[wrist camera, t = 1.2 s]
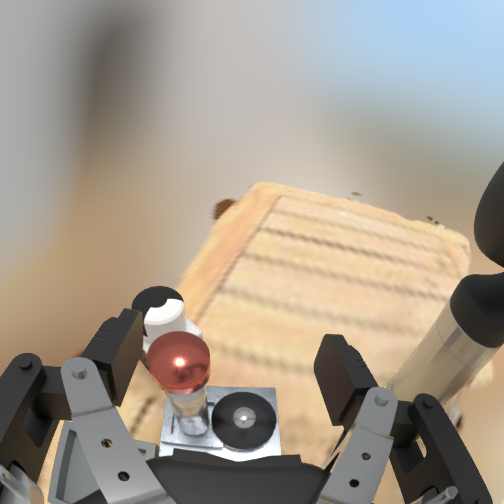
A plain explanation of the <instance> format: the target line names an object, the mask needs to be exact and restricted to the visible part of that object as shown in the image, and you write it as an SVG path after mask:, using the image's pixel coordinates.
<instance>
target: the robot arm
mask: <svg viewBox="0 0 504 504" xmlns="http://www.w3.org/2000/svg"><path fill="white" fill-rule="evenodd" d="M474 236H475V240H476V243H477V245H478V247H479V249H480V250H481V251H482V252H483V253H484V254H485V255H486V256H487V257H488V258H489V259H490V260H492V261H494V262H495V263H497V264H498V265H500V266H502V267H503V268H504V162H503V163H502V165H501V166H500V167H499V169H498V170H497V172H496V173H495V175H494V176H493V178H492V179H491V181H490V182H489V184H488V186H487V188H486V190H485V192H484V194H483V196H482V198H481V200H480V203H479V206H478V208H477V212H476V215H475V221H474ZM503 344H504V272H502V273H499V274H493V275H479V274H473V275H468V276H466V277H464V278H463V279H462V280H461V281H460V283H459V284H458V286H457V287H456V289H455V291H454V292H453V294H452V296H451V298H450V299H449V301H448V302H447V304H446V306H445V307H444V309H443V310H442V312H441V314H440V315H439V317H438V318H437V320H436V321H435V323H434V324H433V326H432V327H431V329H430V330H429V332H428V333H427V335H426V336H425V337H424V339H423V340H422V342H421V343H420V344H419V346H418V347H417V348H416V350H415V351H414V352H413V354H412V355H411V356H410V357H409V359H408V360H407V361H406V362H405V364H404V365H403V366H402V367H401V369H400V370H399V371H398V372H397V373H396V375H395V376H394V377H393V378H392V379H391V381H390V382H389V384H388V387H387V389H386V388H383V387H379V386H378V384H377V382H376V381H375V379H374V377H373V375H372V374H371V372H370V370H369V369H368V367H367V365H366V363H365V362H364V361H363V358H362V357H361V355H360V353H359V352H358V351H357V350H356V349H355V348H354V347H352V346H351V345H348V344H347V342H346V340H345V338H344V337H343V335H339V334H325V336H324V337H323V340H322V342H321V345H320V348H319V350H318V353H317V356H316V358H315V362H314V373H315V376H316V379H317V382H318V385H319V387H320V390H321V393H322V396H323V399H324V402H325V405H326V408H327V411H328V413H329V416H330V419H331V422H332V425H333V426H340V425H343V427H344V430H343V431H342V433H341V434H340V436H339V438H338V440H337V442H336V444H335V446H334V448H333V449H332V451H331V453H330V455H329V457H328V458H327V460H326V462H325V463H324V465H323V466H322V468H320V467H317V466H314V465H311V464H307V463H303V462H301V458H300V454H299V455H270V456H265V457H261V458H256V459H250V460H245V461H234V460H231V459H227V458H223V457H220V456H216V455H213V454H210V453H207V452H200V451H192V450H185V449H179V448H173V454H172V455H167V456H159V457H155V458H151V459H148V460H146V461H145V460H144V458H143V457H142V455H141V453H140V452H139V450H138V448H137V447H136V445H135V443H134V441H133V440H132V438H131V436H130V434H129V432H128V430H127V429H126V427H125V425H124V423H123V421H122V419H121V417H120V415H119V413H118V411H117V409H116V407H115V406H118V407H120V406H121V404H122V401H123V398H124V396H125V393H126V391H127V388H128V385H129V383H130V380H131V378H132V375H133V373H134V370H135V368H136V365H137V363H138V361H139V358H140V356H141V353H142V349H143V317H142V312H141V311H137V310H132V309H127V308H125V309H124V310H123V311H122V313H121V314H120V316H119V317H118V318H115V317H111V318H110V319H108V320H106V321H105V322H104V323H103V324H102V325H101V327H100V328H99V331H97V333H96V334H95V336H94V337H93V338H92V340H91V341H90V343H89V344H88V346H87V347H86V349H85V350H84V352H83V353H82V355H81V356H80V357H77V358H72V359H69V360H68V361H66V362H65V363H64V364H63V365H62V367H52V366H43V365H42V362H41V360H40V358H39V357H38V356H36V355H35V354H32V353H23V354H20V355H18V356H17V357H15V358H14V359H13V360H12V362H11V363H10V364H9V366H8V367H7V369H6V370H5V371H4V373H3V374H2V376H1V377H0V504H44V496H43V493H42V491H41V489H40V488H39V486H38V485H37V481H38V478H39V475H40V472H41V469H42V466H43V463H44V460H45V457H46V454H47V452H48V449H49V446H50V444H51V441H52V438H53V436H54V433H55V431H56V428H57V426H58V423H59V421H60V420H69V421H73V424H74V427H75V430H76V433H77V436H78V438H79V441H80V444H81V446H82V449H83V451H84V454H85V456H86V459H87V461H88V464H89V466H90V468H91V470H92V472H93V475H94V477H95V479H96V481H97V483H98V485H99V487H100V489H98V490H96V491H94V492H93V493H91V494H89V495H87V496H86V497H84V498H82V499H80V500H78V501H76V502H75V503H73V504H373V503H372V501H373V499H374V496H375V494H376V491H377V489H378V486H379V484H380V481H381V478H382V475H383V473H384V470H385V467H386V464H387V461H388V458H389V459H390V461H391V464H392V467H393V470H394V472H395V475H396V478H397V481H398V484H399V487H400V490H401V492H402V495H403V498H404V501H405V504H493V502H492V498H491V496H490V493H489V491H488V490H487V487H486V485H485V483H484V481H483V479H482V477H481V475H480V473H479V471H478V469H477V467H476V465H475V463H474V461H473V459H472V458H471V456H470V454H469V452H468V450H467V449H466V447H465V445H464V443H463V441H462V440H461V438H460V436H459V434H458V433H457V431H456V429H455V427H454V426H453V424H452V422H451V421H450V419H449V417H448V416H447V414H446V413H445V411H444V409H443V408H442V406H443V405H444V404H445V403H446V402H447V401H449V400H450V399H451V398H452V397H453V396H454V395H455V394H456V393H457V392H459V391H460V390H461V389H462V388H463V387H464V386H465V385H466V384H467V383H468V382H469V381H470V380H471V379H472V378H473V377H474V376H475V375H476V374H477V373H478V372H479V371H480V370H481V369H482V368H483V367H484V365H485V364H486V363H487V362H488V361H489V360H490V359H491V358H492V356H493V355H494V354H495V353H496V352H497V350H498V349H499V348H500V347H501V346H502V345H503ZM114 405H115V406H114ZM420 436H421V438H422V441H423V443H424V445H425V447H426V450H427V453H426V457H425V458H424V457H423V455H422V452H421V450H420V448H419V446H418V444H417V442H416V440H417V439H418V438H419V437H420Z"/></svg>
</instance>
